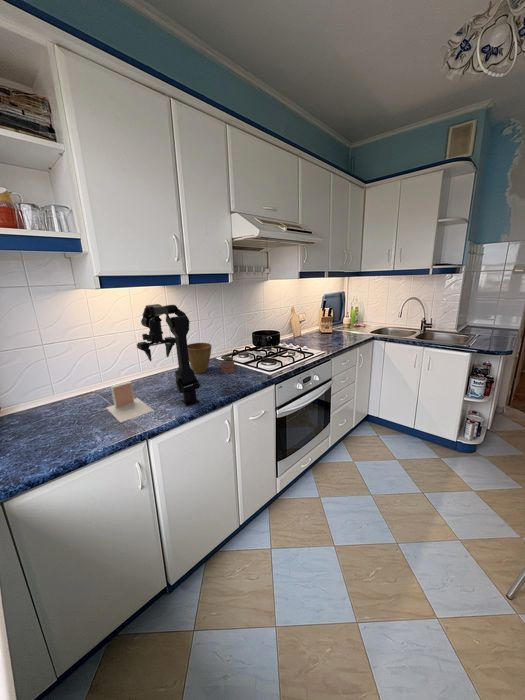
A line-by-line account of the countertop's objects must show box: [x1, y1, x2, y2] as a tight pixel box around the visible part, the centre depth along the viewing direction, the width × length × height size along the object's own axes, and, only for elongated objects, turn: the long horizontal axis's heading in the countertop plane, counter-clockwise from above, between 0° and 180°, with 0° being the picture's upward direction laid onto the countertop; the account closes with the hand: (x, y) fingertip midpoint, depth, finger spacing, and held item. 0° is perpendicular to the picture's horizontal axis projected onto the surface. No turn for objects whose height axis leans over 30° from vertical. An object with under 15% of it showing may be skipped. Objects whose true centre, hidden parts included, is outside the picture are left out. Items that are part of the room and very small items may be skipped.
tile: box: [110, 380, 135, 408], centre depth 130 cm, size 2×8×10 cm, turn 134°
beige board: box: [106, 397, 154, 423], centre depth 128 cm, size 18×14×1 cm
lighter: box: [220, 355, 236, 375], centre depth 170 cm, size 8×3×10 cm, turn 84°
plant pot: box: [187, 342, 212, 374], centre depth 172 cm, size 15×15×16 cm
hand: (159, 359), depth 150 cm, fingers open, 9 cm apart
